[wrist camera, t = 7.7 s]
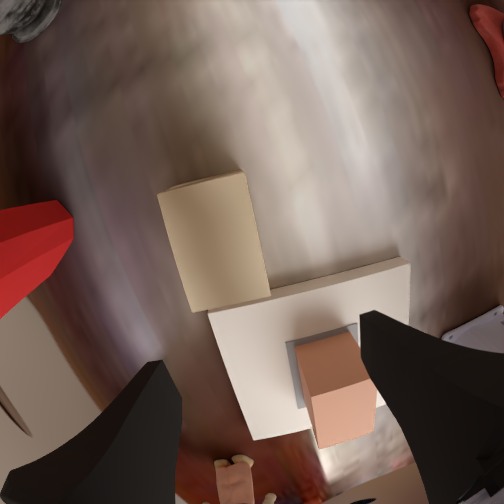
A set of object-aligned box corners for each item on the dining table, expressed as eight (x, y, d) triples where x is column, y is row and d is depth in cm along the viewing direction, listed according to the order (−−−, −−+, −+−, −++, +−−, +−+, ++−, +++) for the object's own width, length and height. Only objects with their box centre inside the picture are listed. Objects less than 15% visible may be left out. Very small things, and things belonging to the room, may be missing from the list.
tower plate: (399, 256, 20) (410, 263, 18) (393, 389, 24) (399, 399, 22) (208, 302, 20) (207, 314, 18) (252, 428, 24) (253, 441, 22)
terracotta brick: (349, 331, 19) (378, 375, 14) (351, 388, 21) (373, 431, 16) (294, 346, 19) (311, 397, 14) (304, 402, 21) (318, 449, 16)
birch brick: (240, 169, 17) (244, 172, 12) (261, 261, 19) (271, 295, 14) (176, 185, 17) (156, 194, 12) (200, 275, 19) (192, 312, 14)
